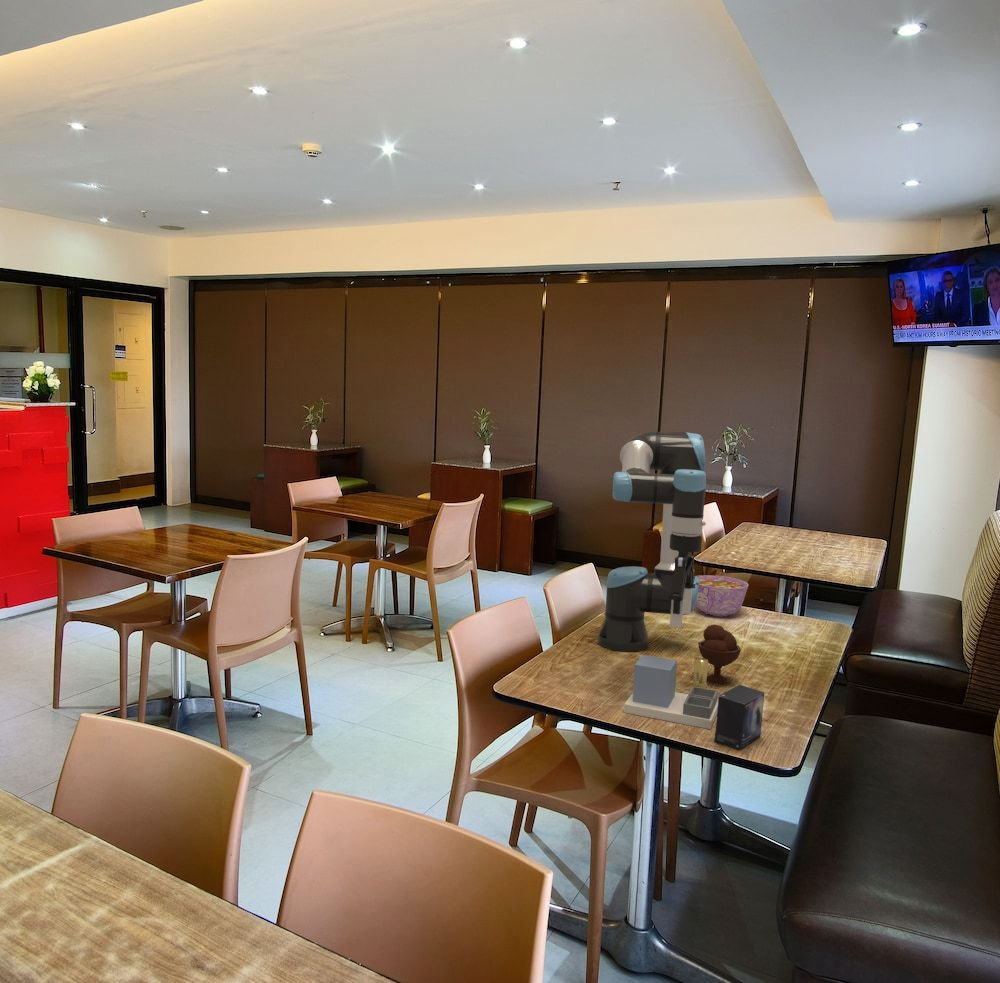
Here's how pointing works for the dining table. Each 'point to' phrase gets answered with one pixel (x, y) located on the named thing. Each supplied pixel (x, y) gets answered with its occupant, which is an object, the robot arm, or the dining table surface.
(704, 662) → the brass pin
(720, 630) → the ice cream bowl
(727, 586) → the bowl of food
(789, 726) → the dining table surface
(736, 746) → the small box
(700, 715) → the pin board
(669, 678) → the cover
